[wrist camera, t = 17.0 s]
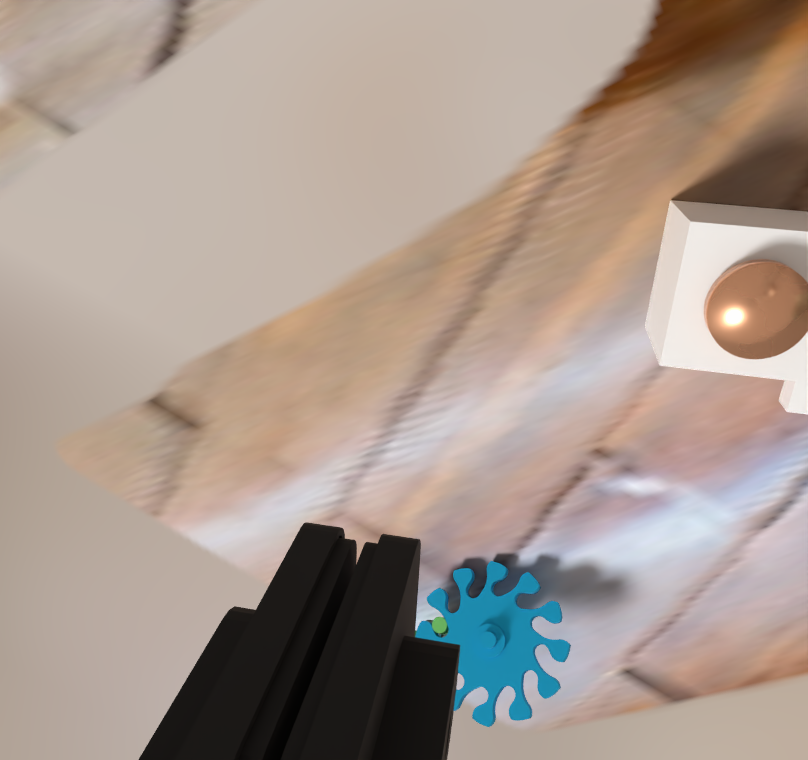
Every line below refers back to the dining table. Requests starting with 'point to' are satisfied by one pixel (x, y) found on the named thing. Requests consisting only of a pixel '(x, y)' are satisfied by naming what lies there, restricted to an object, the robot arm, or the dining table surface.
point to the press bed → (700, 267)
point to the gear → (495, 640)
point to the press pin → (757, 309)
